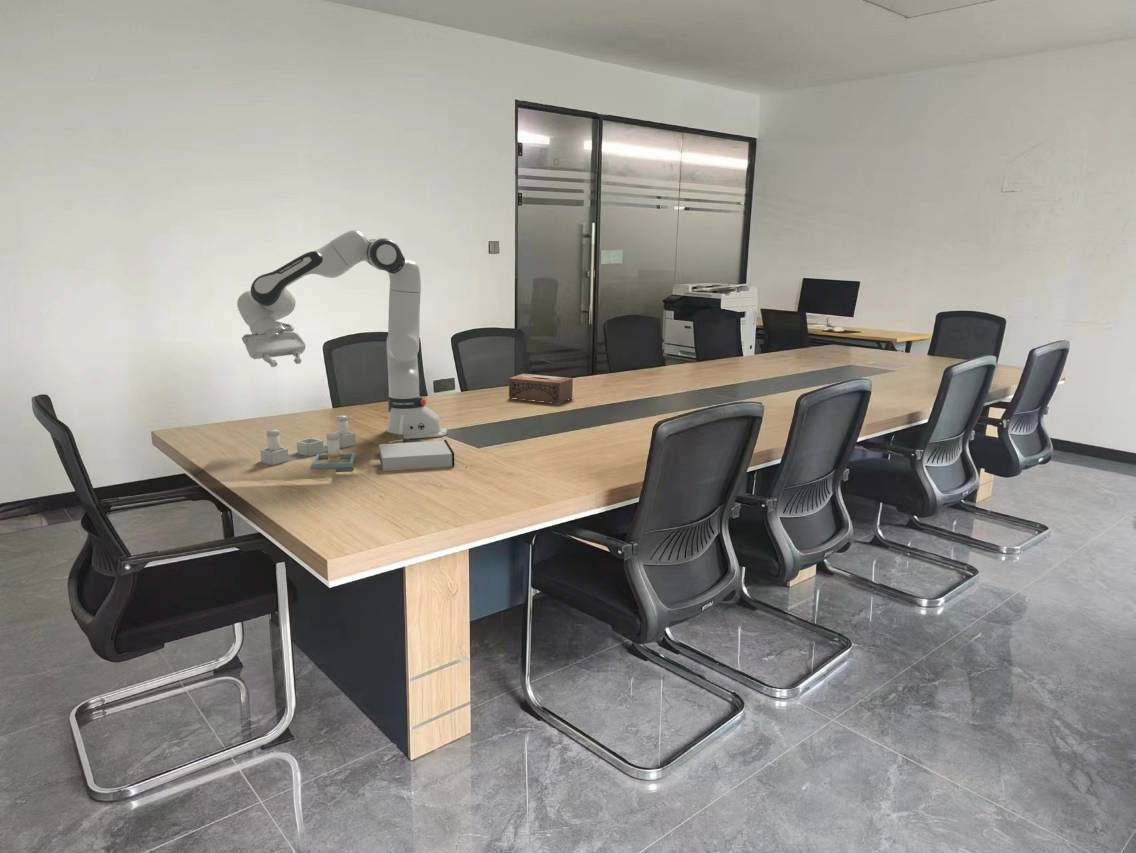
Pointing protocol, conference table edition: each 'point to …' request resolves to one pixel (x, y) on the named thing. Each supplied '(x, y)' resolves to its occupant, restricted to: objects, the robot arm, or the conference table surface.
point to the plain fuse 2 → (342, 425)
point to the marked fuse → (333, 448)
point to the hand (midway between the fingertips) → (287, 364)
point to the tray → (335, 465)
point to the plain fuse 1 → (273, 440)
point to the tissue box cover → (540, 388)
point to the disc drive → (416, 455)
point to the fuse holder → (303, 450)
